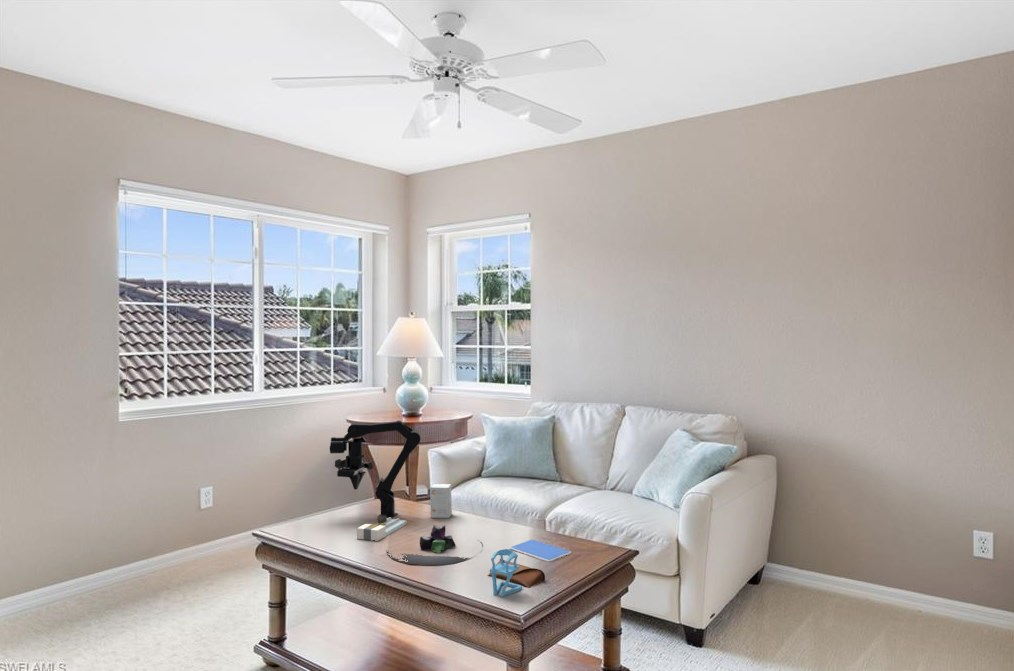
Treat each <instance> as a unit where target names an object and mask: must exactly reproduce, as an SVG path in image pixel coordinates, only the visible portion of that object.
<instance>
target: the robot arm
mask: <svg viewBox="0 0 1014 671" xmlns="http://www.w3.org/2000/svg"><path fill="white" fill-rule="evenodd" d="M395 431H397V432H398V433H399V434H400V435H401V436H402V437H404V439H405V442H404V444H403V448H402V449H401V451H400V453H399V454H398V456H397V458H396V460H395V461H394V463H393V465H392V467H391V468H390V470H389V472H388V473H387V475H386V477H384V478H383V477H380V480H379V482H378V483H377V484H376V486H375V498H377V499H378V500H379V502H380V514H379V515H387V518H389V517H391V519H393V517H396V516H398V515H399V513H398V512H396V511H395V510H396V508H395V506H396V504H395V497H396V494H395V493H394V492H393V491H392V488H393V485H394V482H395V480H396V478H397V477H398V476H399V473H400V472H401V470H402V468H403V466H404V465H405V463H406V462H407V459H408V458H409V456H410V454H411V453H412V452H413V450H415V449H416V447H418V445H419V444H420V442H421V439H422V436H421V433H420V432H419V431H418V430H415V429H414V430H413V429H412V428H411V427H410V426H408V425H407V424H405V423H404V422H403V421H402V420H396V421H387V422H386V421H385V422H377V423H376V422H375V423H364V422H353V423H351V424H350V425H349V426H348V428H347V431H346V432H347V433H346V434H345V435H344V436H343V437H334V436H332V437H330V444H329V453H330V454H345V452H346V451H347V450H348V452H347V455H346V456H345V459H343V460H342V459H340V458H339V459H335V461H334V467H335V468H337V471H336V477H342V478H349V479H350V482H351V484H352V488H353V490H358V488H359V486H360V484H361V482H362V479H363V478H364V476H365V474H366V471H363V470H365V469H368V470H370V471H371V470H372V469H374V464H373V463H372V461H363V458H365V454H363V443H367V439H366V438H365V437H364V436H366V435H369V434H375V433H385V432H395ZM352 439H353V440H352Z"/></svg>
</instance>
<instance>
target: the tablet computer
mask: <svg viewBox="0 0 1014 671" xmlns="http://www.w3.org/2000/svg"><path fill="white" fill-rule="evenodd" d="M509 550H512V551H514V552H517V553H520V554H523V555H526V556H529V557H532V558H536V559H538V560H541V561H544V562H547V563H551V562H554V561H556V559H557V560H559V559H562V558H564V557H566V555H567V556H570V555H572V551H571V550H569V549H568V550H567V549H564V548H562V547H557V546H554V545H552V544H549V543H545V542H543V541H539V540H535V539H528V540H526V541H524V542H522V543H521V542H520V543H518V544H515V545H513V546H510V547H509ZM561 557H562V558H561Z"/></svg>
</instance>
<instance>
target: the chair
mask: <svg viewBox="0 0 1014 671" xmlns="http://www.w3.org/2000/svg"><path fill="white" fill-rule="evenodd" d="M497 556H499V557H500V559H501V562H500V563H499V564H498V565H496V563H495V559H496V557H497ZM503 556H508V557H507V558H506V560H505V561H506V563H503V560H504V557H503ZM518 556H519V555H518V553H516V551H514V550H511V549H510V548H503V549H499V550H497V551H495V552H494V553H493V554H492V557H490V560H491V563H492V567H491V568H489V573H490V572H491V574H492V577H491V579H492V588H493V589H492V590H493V591H492V592H493V594H492V596H497V595H498V593H499V591H500V590H501V591H500V598H504V597H506V596H508V595H511V594H513V593H516V592H518V591H521V590H523V586H522V585H519V584H516V583H512V582H509V581H510V579H511V577H512V575H513V574H514V572H515V571H516V570H518V569H519V566H517V565H516V564H517V559H518ZM512 560H513V562H512V563H513V564H514V565H510V564H508V563H509V562H511V561H512ZM496 573H498V574H502V575H505V576H507V579H506V580H505V581H503V580H502V581H501V580H500V581H499V582H498V583H497V578H496ZM502 586H503V587H502ZM501 587H502V588H501ZM507 587H509V588H511V589H507Z"/></svg>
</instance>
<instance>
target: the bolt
mask: <svg viewBox="0 0 1014 671" xmlns="http://www.w3.org/2000/svg"><path fill="white" fill-rule="evenodd" d="M376 517H377V519H376V520H377V522H376V523H374V524H372V526H370V527H368V528H372V529H373V528H375V527H377V526H379V525H382V526H384V525H386V522H387V515H380V514H379V515H377V516H376Z"/></svg>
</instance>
